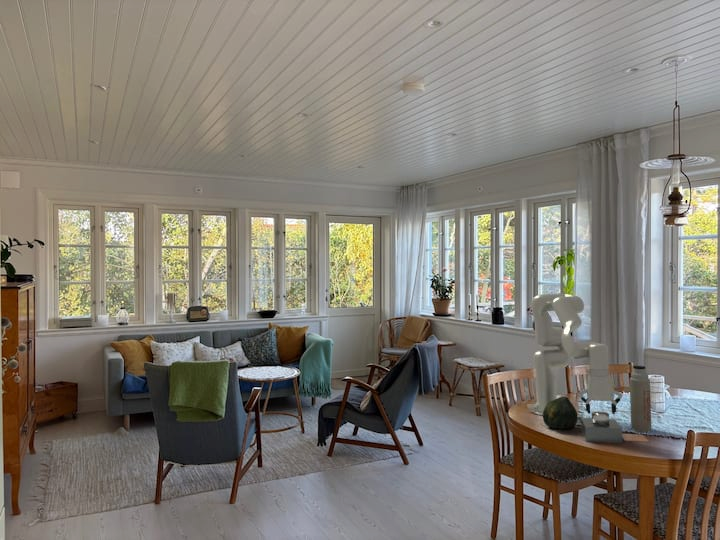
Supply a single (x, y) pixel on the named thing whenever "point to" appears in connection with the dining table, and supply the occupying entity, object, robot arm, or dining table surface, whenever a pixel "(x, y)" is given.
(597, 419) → the end cover
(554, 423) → the squash
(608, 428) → the box
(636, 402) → the thermos bottle
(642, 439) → the coaster
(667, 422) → the dining table surface
